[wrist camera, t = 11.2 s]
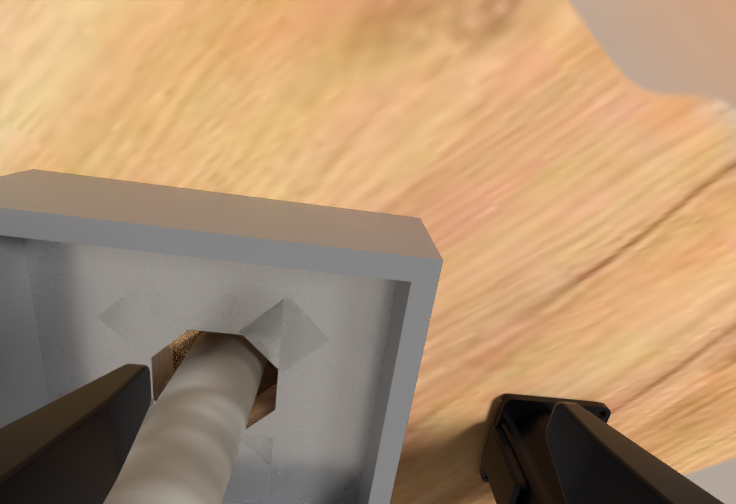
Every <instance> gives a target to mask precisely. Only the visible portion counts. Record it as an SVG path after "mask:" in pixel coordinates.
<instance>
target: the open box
mask: <svg viewBox="0 0 736 504" xmlns="http://www.w3.org/2000/svg"><path fill="white" fill-rule="evenodd" d="M22 238H29V239H38V240H47V241H56V242H65V243H73V244H82V245H91V246H100V247H109V248H118V249H126V250H135V251H144V252H153V253H162V254H171V255H179V256H188V257H197V258H206V259H215V260H224V261H232V262H241V263H250V264H259V265H268V266H277V267H285V268H294V269H303V270H312V271H321V272H330V273H338V274H347V275H356V276H365V277H374V278H383V279H391V280H397V285H396V291H395V296H394V302H393V307H392V313H391V318H390V324H389V330H388V335H387V341H386V346H385V352H384V357H383V363H382V369H381V374H380V380H379V385H378V391H377V396H376V402H375V407H374V413H373V419H372V424H371V430H370V435H369V441H368V446H367V452H366V457H365V463H364V469H363V474H362V480H361V485H360V491H359V496H358V502H357V504H390V500H391V496H392V491H393V487H394V482H395V477H396V473H397V468H398V464H399V459H400V455H401V450H402V445H403V441H404V436H405V432H406V427H407V423H408V418H409V413H410V409H411V404H412V400H413V395H414V391H415V386H416V381H417V377H418V372H419V368H420V363H421V358H422V354H423V349H424V345H425V340H426V336H427V331H428V326H429V322H430V317H431V313H432V308H433V304H434V299H435V294H436V290H437V285H438V281H439V276H440V272H441V267H442V262H443V259H442V257H441V256H440V254H439V252H438V250H437V248H436V246H435V245H434V243H433V241H432V239H431V237H430V235H429V234H428V232H427V230H426V228H425V226H424V225H423V223H422V221H421V219H420V218H414V217H406V216H398V215H391V214H383V213H375V212H367V211H359V210H351V209H343V208H335V207H327V206H319V205H311V204H303V203H295V202H287V201H280V200H272V199H264V198H256V197H248V196H240V195H232V194H224V193H216V192H208V191H200V190H192V189H184V188H176V187H168V186H161V185H153V184H145V183H137V182H129V181H121V180H113V179H105V178H97V177H89V176H81V175H73V174H65V173H57V172H49V171H42V170H34V169H32V170H28V171H23V172H19V173H14V174H10V175H6V176H1V177H0V428H2V427H3V426H5V425H7V424H9V423H11V422H13V421H15V420H17V419H19V418H21V417H23V416H25V415H27V414H29V413H31V412H33V411H35V410H37V409H39V408H41V407H43V406H45V405H47V404H49V403H50V402H49V396H48V390H47V384H46V378H45V372H44V366H43V360H42V354H41V348H40V342H39V336H38V330H37V324H36V318H35V312H34V306H33V299H32V293H31V287H30V281H29V275H28V269H27V263H26V257H25V251H24V245H23V239H22ZM221 504H249V503H234V502H222V503H221Z"/></svg>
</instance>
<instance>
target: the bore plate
mask: <svg viewBox="0 0 736 504" xmlns="http://www.w3.org/2000/svg"><path fill="white" fill-rule="evenodd" d="M22 239H23V245H24V251H25V257H26V263H27V269H28V275H29V281H30V287H31V293H32V299H33V306H34V312H35V318H36V324H37V330H38V336H39V342H40V348H41V354H42V360H43V366H44V372H45V378H46V384H47V390H48V396H49V402H50V403H51V402H53V401H54V400H56V399H58V398H60V397H62V396H64V395H66V394H68V393H70V392H72V391H74V390H76V389H78V388H80V387H82V386H84V385H86V384H88V383H90V382H92V381H94V380H96V379H98V378H100V377H102V376H104V375H105V374H107V373H109V372H111V371H113V370H115V369H117V368H119V367H121V366H123V365H125V364H142V365H147V366H148V367H149V369H150V379H151V404H150V407H149V410H148V412H147V414H146V416H145V418H146V417H147V415H148V413H149V412H150V410H151V409H152V407H153V406H154V404H155V403H156V401H157V399H158V398H159V396H160V395H161V393H162V392H163V390H164V389H165V387H166V385H167V384H168V382H169V381H170V379H171V378H172V376H173V375H174V373H175V372H176V370H175V369H174V351H173V341H174V340H175V339H177V338H178V337H179V336H181V335H182V334H183V333H185V332H186V331H187V330H198V331H208V332H219V333H229V334H239V335H243V336H244V337H245V338H246V339H247V340H249V341H250V342H251V343H252V344H253V345H254V346H255V347H256V348H257V349H258V350H259V351H260V352H261V353H262V354H263V355H264V356H265V357H266V358H267V359H268V360H269V361H270V362H271V363H272V364H273V365H274V366H275V367H276V368H277V369H278V380H277V383H275V384H274V385H273V386H271V387H270V388H268V389H267V390H265V391H264V392H262V393H261V394H259V395H258V396H256V397H255V401H254V404H253V407H252V410H251V413H250V416H249V419H248V422H247V425H246V428H245V432H244V435H243V438H242V441H241V444H240V447H239V450H238V453H237V456H236V460H235V463H234V466H233V469H232V472H231V475H230V478H229V481H228V484H227V487H226V491H225V494H224V497H223V500H222V502H234V503H249V504H357V502H358V496H359V491H360V485H361V480H362V474H363V469H364V463H365V457H366V452H367V446H368V441H369V435H370V430H371V424H372V419H373V413H374V407H375V402H376V396H377V391H378V385H379V380H380V374H381V369H382V363H383V357H384V352H385V346H386V341H387V335H388V330H389V324H390V318H391V313H392V307H393V302H394V296H395V291H396V285H397V280H391V279H383V278H374V277H365V276H356V275H347V274H338V273H330V272H321V271H312V270H303V269H294V268H285V267H277V266H268V265H259V264H250V263H241V262H232V261H224V260H215V259H206V258H197V257H188V256H179V255H171V254H162V253H153V252H144V251H135V250H126V249H118V248H109V247H100V246H91V245H82V244H73V243H65V242H56V241H47V240H38V239H29V238H22ZM145 418H144V420H145Z"/></svg>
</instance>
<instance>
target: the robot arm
mask: <svg viewBox="0 0 736 504" xmlns="http://www.w3.org/2000/svg"><path fill="white" fill-rule="evenodd" d="M510 403H513V404H511V405H509V404H510ZM150 404H151V379H150V369H149V367H148V366H147V365H142V364H125V365H123V366H121V367H119V368H117V369H115V370H113V371H111V372H109V373H107V374H105V375H104V376H102V377H100V378H98V379H96V380H94V381H92V382H90V383H88V384H86V385H84V386H82V387H80V388H78V389H76V390H74V391H72V392H70V393H68V394H66V395H64V396H62V397H60V398H58V399H56V400H54V401H53V402H51V403H49V404H47V405H45V406H43V407H41V408H39V409H37V410H35V411H33V412H31V413H29V414H27V415H25V416H23V417H21V418H19V419H17V420H15V421H13V422H11V423H9V424H7V425H5V426H3V427H2V428H0V504H103V503H104V501H105V499H106V498H107V496H108V494H109V492H110V491H111V489H112V487H113V485H114V483H115V482H116V480H117V478H118V476H119V474H120V472H121V470H122V467H123V465H124V463H125V461H126V459H127V456H128V454H129V452H130V450H131V447H132V445H133V443H134V441H135V439H136V436H137V434H138V432H139V430H140V427H141V425H142V423H143V421H144V418H145V416H146V414H147V412H148V410H149V407H150ZM610 413H611V412H610V410H609V408H608V407H607V406H606V405H605V404H604V403H598V402H587V401H576V400H565V399H555V398H544V397H533V396H522V395H507V396H505V397H504V398H503V399H502V401H501V404H500V407H499V411H498V414H497V417H496V420H495V423H494V426H493V427H492V428H491V429H490V432H489V435H488V439H487V442H486V445H485V448H484V451H483V455H482V458H481V460H482V465H481V468H480V475H481V478H482V480H483V481H484V482H489V483H490V486H491V489H492V492H493V494H494V497H495V500H496V503H497V504H724V503H723V502H721V501H720V500H718V499H716V498H715V497H714V496H712V495H711V494H709V493H708V492H706V491H705V490H703V489H702V488H701V487H699V486H698V485H696V484H695V483H693V482H692V481H690V480H689V479H687V478H686V477H684V476H683V475H681V474H680V473H678V472H677V471H676V470H674V469H673V468H671V467H670V466H668V465H667V464H665V463H664V462H662V461H661V460H659V459H658V458H656V457H655V456H653V455H652V454H650V453H649V452H648V451H646V450H645V449H643V448H642V447H640V446H639V445H637V444H636V443H634V442H633V441H631V440H630V439H628V438H627V437H625V436H624V435H622V434H621V433H620V432H618V431H617V430H615V429H614V428H612V427H611V426H609V425H608V424H607V421H608V419H609V417H610Z"/></svg>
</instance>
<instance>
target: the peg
mask: <svg viewBox="0 0 736 504" xmlns="http://www.w3.org/2000/svg"><path fill="white" fill-rule="evenodd" d="M266 363H267V358H266V357H265V356H264V355H263V354H262V353H261V352H260V351H259V350H258V349H257V348H256V347H255V346H254V345H253V344H252V343H251V342H250V341H249V340H247V339H246V338H245V337H244V336H243V335H239V334H229V333H219V332H208V331H203V332H202V333H201V334H200V335H199V336H198V337H197V339H196V340H195V342H194V344H193V345H192V347H191V348H190V350H189V351H188V353H187V354H186V356H185V358H184V359H183V361H182V362H181V364H180V365H179V367H178V368H177V370H176V372H175V373H174V375H173V376H172V378H171V379H170V381H169V382H168V384H167V385H166V387H165V389H164V390H163V392H162V393H161V395H160V396H159V398H158V399H157V401H156V403H155V404H154V406H153V407H152V409H151V410H150V412H149V413H148V415H147V417H146V418H145V420H144V421H143V423H142V425H141V427H140V430H139V432H138V434H137V436H136V439H135V441H134V443H133V445H132V447H131V450H130V452H129V454H128V456H127V459H126V461H125V463H124V465H123V467H122V470H121V472H120V474H119V476H118V478H117V480H116V482H115V483H114V485H113V487H112V489H111V491H110V492H109V494H108V496H107V498H106V499H105V501H104V503H103V504H221V503H222V500H223V497H224V494H225V491H226V487H227V484H228V481H229V478H230V475H231V472H232V469H233V466H234V463H235V460H236V456H237V453H238V450H239V447H240V444H241V441H242V438H243V435H244V432H245V428H246V425H247V422H248V419H249V416H250V413H251V410H252V407H253V404H254V401H255V397H256V394H257V391H258V388H259V385H260V382H261V379H262V376H263V373H264V369H265V366H266Z"/></svg>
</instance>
